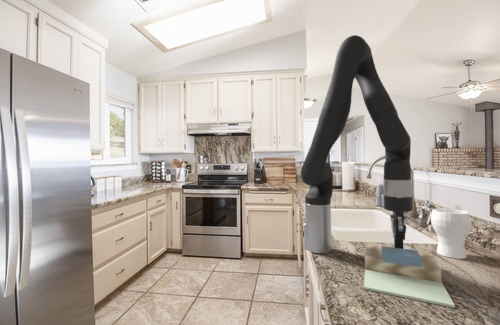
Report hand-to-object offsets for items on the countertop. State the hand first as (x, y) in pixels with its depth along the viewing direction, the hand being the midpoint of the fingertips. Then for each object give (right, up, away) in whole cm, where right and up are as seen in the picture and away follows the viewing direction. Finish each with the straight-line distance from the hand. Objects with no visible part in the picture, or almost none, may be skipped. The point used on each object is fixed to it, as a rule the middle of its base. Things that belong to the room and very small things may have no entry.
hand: (398, 251), depth 71 cm
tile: (-2, 0, -4) cm, 5 cm away
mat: (-6, -5, -11) cm, 13 cm away
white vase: (+24, -5, +10) cm, 26 cm away
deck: (0, -5, 0) cm, 5 cm away
